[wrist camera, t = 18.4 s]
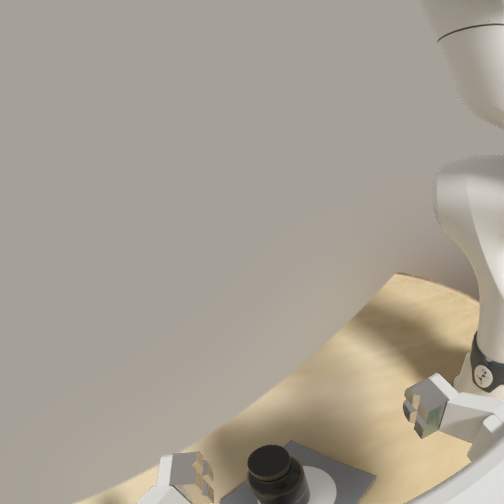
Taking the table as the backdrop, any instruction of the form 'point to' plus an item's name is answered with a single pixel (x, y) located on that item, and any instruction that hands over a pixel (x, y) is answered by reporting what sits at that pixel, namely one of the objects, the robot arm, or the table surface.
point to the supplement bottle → (277, 477)
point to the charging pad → (317, 480)
